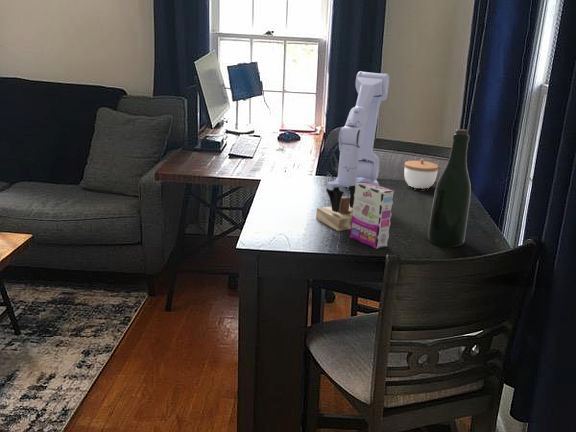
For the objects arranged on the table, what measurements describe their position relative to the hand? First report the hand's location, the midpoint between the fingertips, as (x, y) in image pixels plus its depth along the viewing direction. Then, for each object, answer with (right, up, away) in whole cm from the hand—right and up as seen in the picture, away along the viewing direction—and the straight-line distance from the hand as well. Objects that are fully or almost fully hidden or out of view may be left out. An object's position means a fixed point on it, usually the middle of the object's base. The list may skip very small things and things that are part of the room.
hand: (344, 209), depth 195 cm
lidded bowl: (+33, +9, +48) cm, 59 cm away
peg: (0, -4, +1) cm, 4 cm away
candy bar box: (+6, -10, -14) cm, 18 cm away
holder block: (0, -4, +1) cm, 4 cm away
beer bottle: (+29, -10, -9) cm, 32 cm away
